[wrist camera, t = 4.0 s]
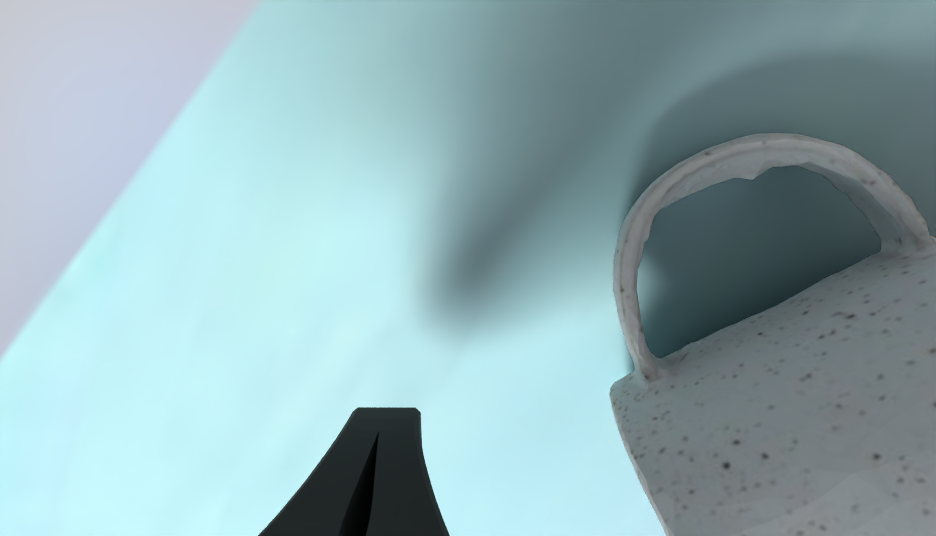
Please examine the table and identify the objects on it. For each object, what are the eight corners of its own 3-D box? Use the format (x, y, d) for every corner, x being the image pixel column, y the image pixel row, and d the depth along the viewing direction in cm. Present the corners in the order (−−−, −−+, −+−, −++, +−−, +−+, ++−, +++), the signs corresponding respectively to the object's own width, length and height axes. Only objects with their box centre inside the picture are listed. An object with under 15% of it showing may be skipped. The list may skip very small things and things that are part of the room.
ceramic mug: (992, 384, 16) (1403, 699, 9) (707, 514, 18) (856, 853, 11) (846, 30, 12) (1349, 89, 5) (509, 245, 14) (543, 494, 7)
